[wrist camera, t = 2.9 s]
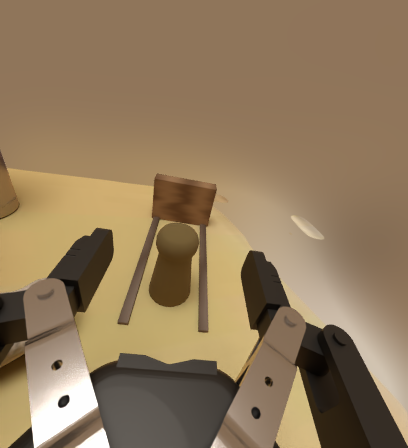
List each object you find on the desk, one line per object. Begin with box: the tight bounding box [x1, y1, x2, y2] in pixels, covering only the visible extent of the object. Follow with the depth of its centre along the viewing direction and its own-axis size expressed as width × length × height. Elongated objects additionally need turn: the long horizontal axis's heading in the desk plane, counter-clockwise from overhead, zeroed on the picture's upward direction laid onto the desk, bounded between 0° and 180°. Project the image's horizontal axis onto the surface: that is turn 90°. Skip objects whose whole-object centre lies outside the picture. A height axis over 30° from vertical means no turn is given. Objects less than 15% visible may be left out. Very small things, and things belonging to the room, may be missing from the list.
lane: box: [118, 174, 217, 332], centre depth 34 cm, size 12×26×9 cm, turn 0°
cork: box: [149, 223, 199, 307], centre depth 28 cm, size 6×6×11 cm
